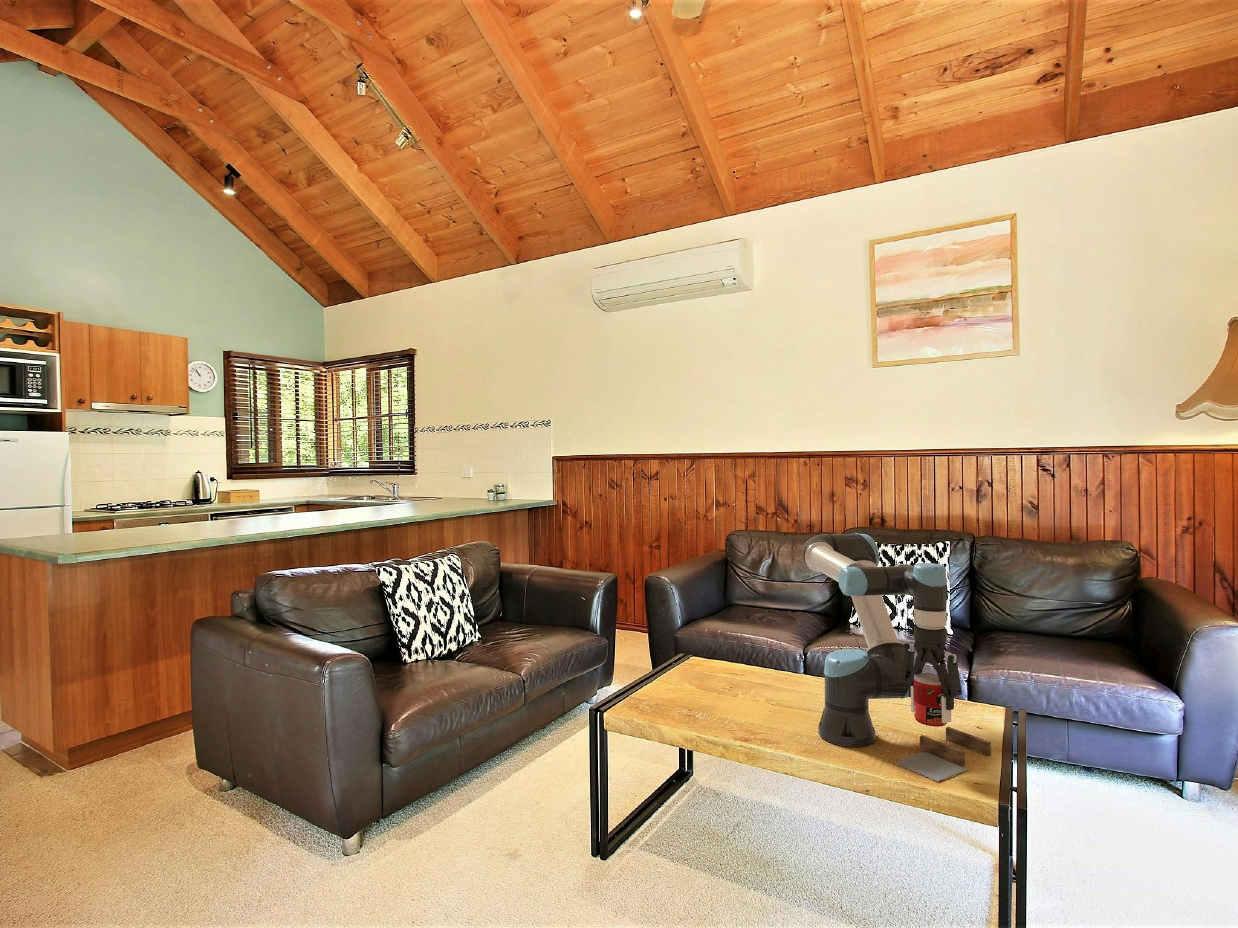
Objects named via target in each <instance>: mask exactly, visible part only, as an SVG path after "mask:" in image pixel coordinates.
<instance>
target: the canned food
mask: <svg viewBox="0 0 1238 928" xmlns="http://www.w3.org/2000/svg"><path fill="white" fill-rule="evenodd" d="M943 695H945V694H944V692H943V689H942V686H941V682H940V680H939V678H938V675H937V673H932V672H923V673H920V674H915V675H914V712H913V715H914V719H915V721H917V723H919V724H922V725H924V726H928V727H935V728H938V727H944V726H946V725H947V724H948V723H945V724H944V723H942V696H943Z"/></svg>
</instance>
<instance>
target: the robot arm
mask: <svg viewBox="0 0 1238 928" xmlns="http://www.w3.org/2000/svg"><path fill="white" fill-rule="evenodd" d="M879 550H880V549H879V547H878V545H877V543H876V541H875V539H874V538H873V537H872V536H870V535H868V534H866V533H857V532H852V533H820V534H818V535H814V536H812V537H810V538H808V539H807V540H806V541H805V543H804V544H803V546H802V548H801V552H800V553H801V554H800V555H801V556H800V557H801V560H802V563H803V564H804V565H805V567H807V568H808V569H809V570H811V571H812V572H815V573H822V574H823V575H825V576H827V577H829V578H830V579H832V580H834V581H835V582H837V583H838V588H839V589H840V590H841V593H842V594H843V595H844V596H847V597H849V596H850V597H851V599H852V603H853V606H854V609H855V611H856V612H855V613H856V614H857V618H858V621H859V624H860V627H861V630H862V633H863V635H864V639H865V642H866V645H867V649H866V651H865V650H862V649H859V648H858V649H857V648H856V649H852V648H842V649H838V650H834V651H832V652H829V653H828V654H827V655H826V657H825V659H824V669H823V675H824V708H823V710H822V713H821V717H820V721H819V722H818V735H819V737H820V738H822V739H823V740H824V741H826V742H829V743H831V744H834V745H836V746H837V745H838V746H842V747H850V748H851V747H852V748H861V747H867V746H870V745H872V744H874V743H875V742H876V729H875V727H874V725H873V722H872V718H871V714H870V710H869V709H870V708H869V702H870V701H869V700H873V699H874V700H882V699H884V700H885V699H886V700H887V699H901V700H903V699H906V698H908V699H909V698H910V712H911V713H914V675H915V674H920V673H924V669H925V665H926V664H927V663H928V664H930V665H932V667H933V669H934V670H935V672H936V674H937V675H938V678H939V680H940V682H941V686H942V689H943V692H944V694H945V695H943V696H942V723H944V724H945V723H947V724H948V723H950V722H952V710H954V709H955V697H958V696H961V695H962V694H963V690H962V684H961V677H960V671H959V665H958V662H959V658H960V657H959V654H957V653H952V652H950V651H948V649H947V646H946V645H947V642H948V636H947V635H948V632H947V631H948V629H947V627H946V626H947V624H948V623H947V617H948V616H947V614H948V613H947V595H948V594H947V592H948V591H947V589H948V588H947V585H948V584H947V583H948V579H947V570H946V567H945V565H942V564H939V563H934V562H919V563H915V564H914V565H911V564H906V563H898V564H895V565H894V566H893V565H891V566H888V565H887V566H879V564H880V555H879V553H880V551H879ZM883 596H910V597H912V598H913V623H914V624H915V625H913V639H914V642H912V641H911V642H905V643H903V642H901V641H899V639H898V636H897V633H896V632H895V628H894V625H893V623H892V621H891V618H890V615H889V612H888V609H887V606H886V604H885V601H884V598H883ZM915 652H916V653H915Z"/></svg>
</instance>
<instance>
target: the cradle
mask: <svg viewBox="0 0 1238 928" xmlns="http://www.w3.org/2000/svg"><path fill="white" fill-rule="evenodd" d="M945 741H946V742H949V743H952V744H954V745H957V746H960V747H962V748H964V749H967V750H970V751H973V752H976V753H978V754H981V755H984V756H986V757H991V756H992V742H991V741H989V740H987V739H984V738H981V737H978V736H975V735H972V734H969V733H967V732H964V731H962V730H958V729H956V728H953V727H950V726H947V727H945ZM919 750H921V751H922V752H924V751H925V752H928V753H930V754H933V755H935V756H937V757H940V758H942V759H945V760H947V761H950V762H952V763H954V764H957V765H959V766H962V767H965V766H966V751H964V750H961V749H959V748H956V747H954V746H951V745H948V744H946V743H943V742H941V741H938V740H935V739H933V738H931V737H928V736H926V735H923V734H922V735H920V736H919Z"/></svg>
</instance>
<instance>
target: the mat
mask: <svg viewBox="0 0 1238 928" xmlns="http://www.w3.org/2000/svg"><path fill="white" fill-rule="evenodd" d="M895 763H896V764H895ZM894 764H895V765H897V764H898V766H899V765H900V767H901V768H905V769H906V768H907V769H906V770H908V769H909V770H908V771H912V772H913V773H915V772H916V773H915V774H917V773H918V775H920V774H921V775H920V776H922V775H924V776H925V778H926V777H928V778H931V779H933V780H935V781H937V782H938V781H940V780H943V781H945V780H944V779H946V778H948V779H950V778H949V777H951V778H953V777H955V776H954V775H956V776H958V775H960V773H961V774H963V773H966V772H968V771H969V769H968V768H967V767H965V766H963V767H962V766H959V765H957V764H954V763H952V762H950V761H947V760H945V759H942V758H940V757H937V756H935V755H933V754H930V753H928V752H925V751H922V752H918V753H917V754H913V755H910V756H908V757H905V758H902V759H899V760H896V761H894ZM965 771H966V772H965ZM962 772H963V773H962ZM957 774H958V775H957ZM924 776H923V777H924ZM952 776H953V777H952ZM928 778H927V779H928ZM931 779H930V780H931ZM933 780H932V781H933ZM946 780H947V779H946ZM935 781H934V782H935ZM937 782H936V783H937ZM940 782H941V781H940ZM938 783H939V782H938Z"/></svg>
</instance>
